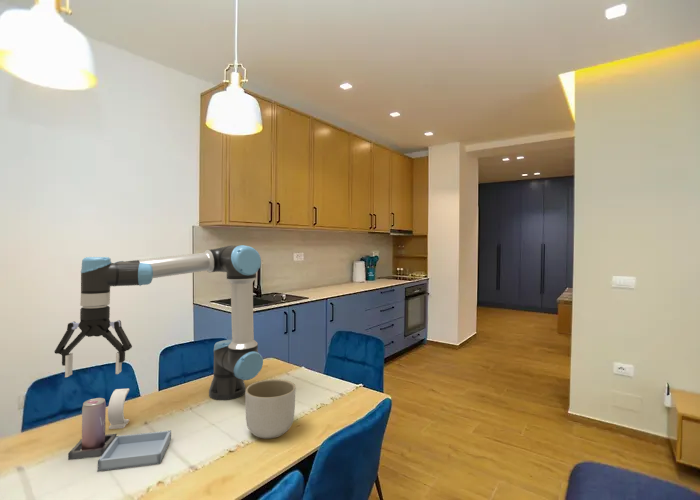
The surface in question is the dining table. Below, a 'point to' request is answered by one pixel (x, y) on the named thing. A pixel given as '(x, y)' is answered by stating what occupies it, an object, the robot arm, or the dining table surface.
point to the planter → (270, 407)
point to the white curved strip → (117, 409)
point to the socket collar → (79, 454)
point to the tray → (135, 450)
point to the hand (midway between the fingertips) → (93, 374)
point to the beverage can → (93, 423)
